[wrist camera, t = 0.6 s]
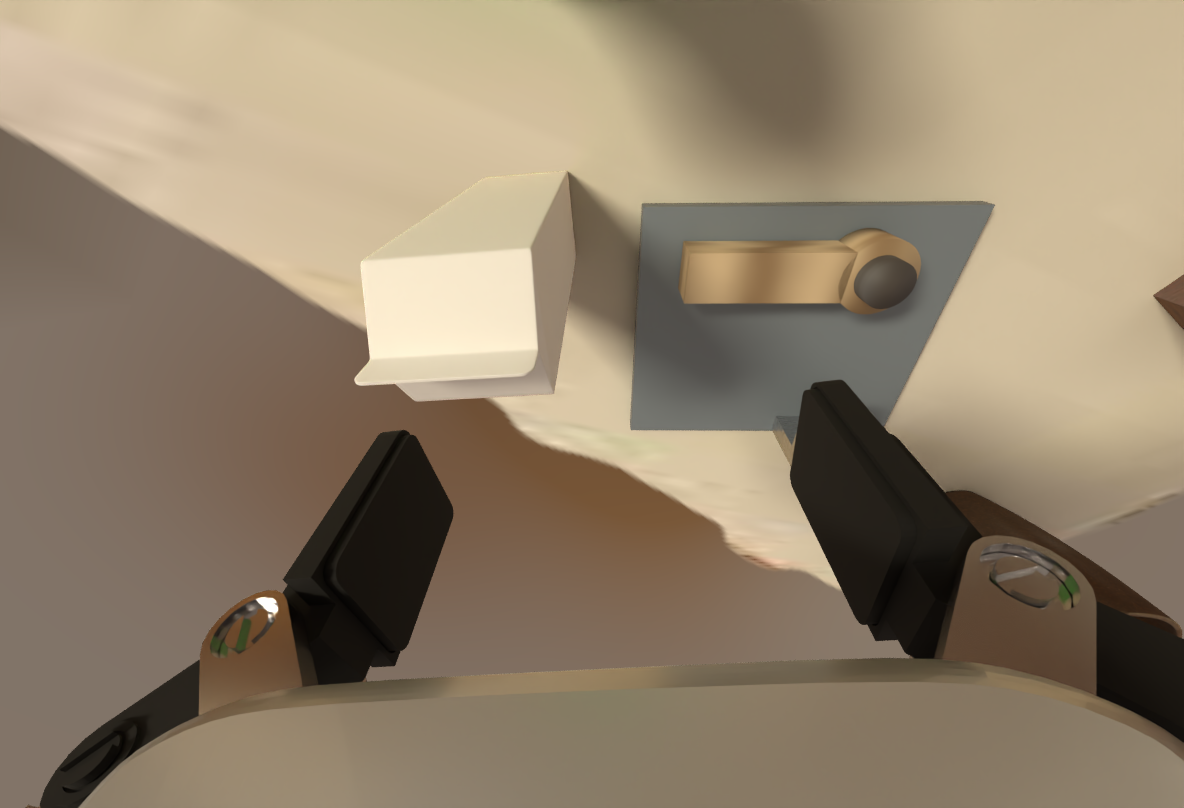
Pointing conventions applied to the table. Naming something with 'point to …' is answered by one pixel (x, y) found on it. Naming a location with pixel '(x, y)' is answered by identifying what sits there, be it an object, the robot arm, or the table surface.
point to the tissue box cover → (1173, 299)
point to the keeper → (786, 433)
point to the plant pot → (1105, 585)
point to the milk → (474, 293)
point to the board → (782, 314)
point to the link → (802, 271)
